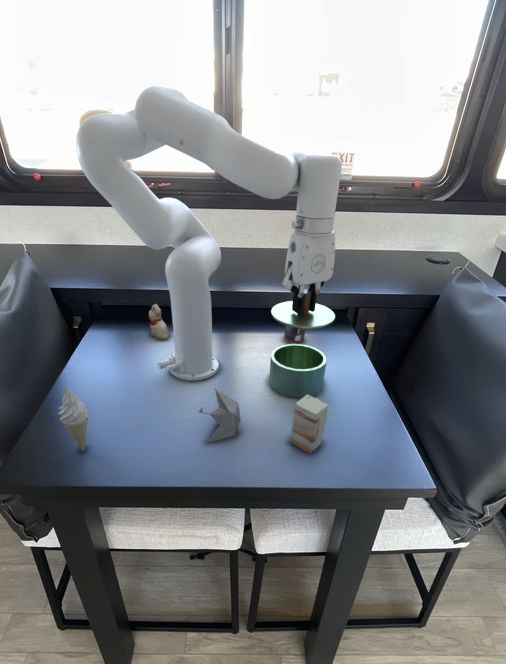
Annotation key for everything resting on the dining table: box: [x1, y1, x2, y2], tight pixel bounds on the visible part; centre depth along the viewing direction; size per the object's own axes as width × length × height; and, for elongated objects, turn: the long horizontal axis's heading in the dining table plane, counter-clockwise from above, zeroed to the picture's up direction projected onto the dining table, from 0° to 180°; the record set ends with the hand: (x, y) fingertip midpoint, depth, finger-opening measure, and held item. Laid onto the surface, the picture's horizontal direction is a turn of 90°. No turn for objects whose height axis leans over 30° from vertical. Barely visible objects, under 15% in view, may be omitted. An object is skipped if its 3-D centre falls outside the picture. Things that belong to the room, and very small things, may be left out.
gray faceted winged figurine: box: [197, 388, 241, 443], centre depth 87 cm, size 12×6×9 cm
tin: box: [268, 343, 328, 399], centre depth 101 cm, size 13×13×8 cm
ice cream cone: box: [57, 386, 90, 452], centre depth 77 cm, size 5×5×15 cm
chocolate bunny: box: [148, 303, 170, 341], centre depth 122 cm, size 6×8×10 cm
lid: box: [270, 289, 336, 330], centre depth 92 cm, size 14×14×6 cm
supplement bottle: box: [283, 324, 306, 344], centre depth 120 cm, size 6×6×11 cm
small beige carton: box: [289, 394, 330, 454], centre depth 82 cm, size 5×4×10 cm
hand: (303, 310), depth 93 cm, fingers closed on lid, 2 cm apart
